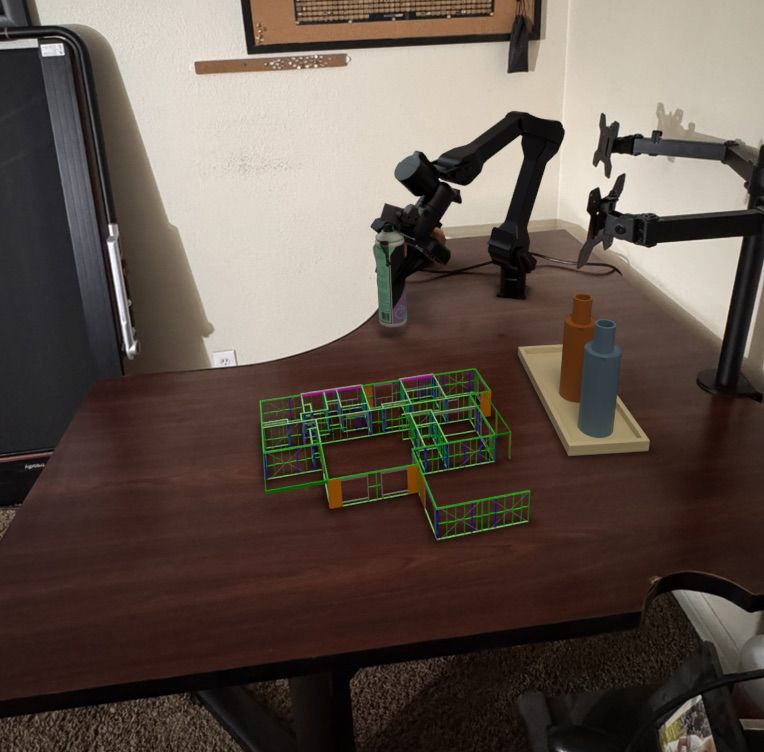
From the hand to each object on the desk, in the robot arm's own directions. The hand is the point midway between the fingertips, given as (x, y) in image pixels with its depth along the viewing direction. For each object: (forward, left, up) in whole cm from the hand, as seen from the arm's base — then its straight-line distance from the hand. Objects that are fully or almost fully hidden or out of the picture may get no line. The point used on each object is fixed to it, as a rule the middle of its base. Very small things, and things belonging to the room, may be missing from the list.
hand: (385, 277), depth 119 cm
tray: (+12, +35, -13) cm, 40 cm away
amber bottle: (+12, +35, -13) cm, 40 cm away
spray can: (-1, +1, -10) cm, 10 cm away
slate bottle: (+20, +39, -13) cm, 45 cm away
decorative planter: (-40, -4, -13) cm, 42 cm away
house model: (+35, +11, -13) cm, 39 cm away
